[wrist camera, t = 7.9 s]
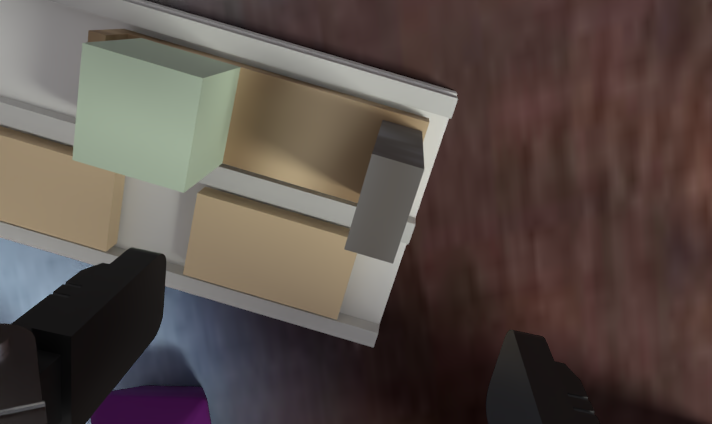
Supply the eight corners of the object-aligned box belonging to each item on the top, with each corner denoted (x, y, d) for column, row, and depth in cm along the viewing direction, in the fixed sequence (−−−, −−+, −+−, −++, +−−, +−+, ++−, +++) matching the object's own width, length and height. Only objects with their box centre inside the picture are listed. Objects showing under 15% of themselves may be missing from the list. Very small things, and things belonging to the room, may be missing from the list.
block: (240, 67, 26) (202, 78, 22) (222, 163, 28) (183, 192, 23) (141, 38, 26) (82, 42, 22) (129, 135, 28) (72, 159, 23)
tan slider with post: (428, 118, 27) (434, 158, 20) (399, 207, 29) (394, 276, 22) (124, 28, 28) (11, 33, 20) (113, 123, 29) (6, 161, 22)
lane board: (455, 91, 28) (459, 98, 26) (375, 330, 33) (372, 354, 31) (-9, -46, 28) (-47, -51, 26) (-16, 215, 34) (-48, 230, 31)
